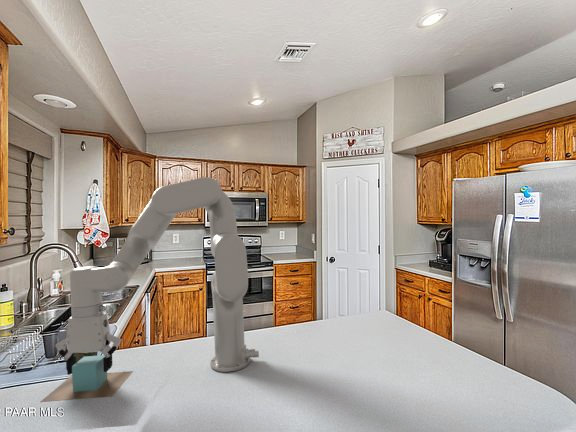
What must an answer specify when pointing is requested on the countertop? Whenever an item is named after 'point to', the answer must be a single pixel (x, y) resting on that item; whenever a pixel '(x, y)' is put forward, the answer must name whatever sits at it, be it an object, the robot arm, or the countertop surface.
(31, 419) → the countertop surface
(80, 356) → the olive patterned hollow container
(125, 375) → the walnut board
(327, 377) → the countertop surface
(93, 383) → the aqua foam cube
